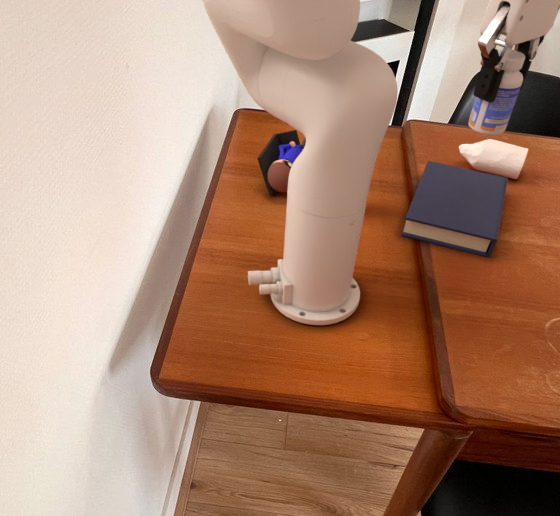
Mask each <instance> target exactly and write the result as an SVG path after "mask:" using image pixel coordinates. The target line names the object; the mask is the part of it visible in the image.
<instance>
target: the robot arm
mask: <svg viewBox="0 0 560 516" xmlns="http://www.w3.org/2000/svg"><path fill="white" fill-rule="evenodd" d="M202 4H203V6H204V10H205V11H206V14H207V17H208V19H209V20H210V22H211V25H212V27H213V29H214V30H215V33H216V35H217V37H218V40H219V41H220V42H221V45H222V47H223V49H224V50H225V53H226V55H227V56H228V58H229V61H230V62H231V64H232V66H233V68H234V70H235V71H236V74H237V76H238V78H239V80H240V82H241V83H242V85H243V87H244V88H245V90H246V91H247V93H248V95H249V96H250V97H251V99H252V100H253V101H254V102H255V104H257V106H259V108H261V109H262V110H264V111H265V112H266V113H269V114H270V115H272V116H273V117H275V118H276V119H278V120H279V121H282V122H284V123H285V124H287V125H289V126H290V127H292V128H293V129H294V130H297V132H300V133H301V134H302V135H303V136H304V139H305V138H306V144H305V147H304V149H302V152H301V153H300V155H299V156H298V157H297V158H296V160H295V161H294V163H293V165H292V167H291V170H290V173H289V178H288V189H287V192H286V193H287V195H286V210H285V223H284V224H285V225H284V226H285V227H284V242H283V255H282V256H283V257H282V258H280V259H277V266H274V267H270V270H268V269H267V270H260V269H257V270H248V271H247V281H248V285H249V286H258V291H259V295H260V296H261V295H269V296H270V300H271V302H272V304H273V306H274V307H275V309H277V311H278V312H279V313H281V314H282V315H284V316H285V317H286V318H287V319H290V320H292V321H294V322H298V323H301V324H305V325H310V326H327V325H328V326H329V325H333V324H337V323H339V322H342V321H345V320H346V319H348V318H349V317H351V316H352V315H353V314H354V313H355V312H356V310H357V309H358V306H359V304H360V300H361V290H360V286H359V284H358V282H357V281H356V279H355V278H354V277H353V275H354V271H355V270H354V269H355V265H356V259H357V255H358V250H359V244H360V240H361V239H360V238H361V234H362V229H363V223H364V219H365V213H366V209H367V203H368V197H369V191H370V187H371V181H372V177H373V173H374V169H375V166H376V161H377V158H378V155H379V152H380V149H381V146H382V144H383V141H384V138H385V136H386V133H387V131H388V129H389V126H390V124H391V121H392V118H393V116H394V112H395V109H396V106H397V100H398V83H397V79H396V76H395V73H394V71H393V69H392V68H391V67H390V65H389V64H388V62H387V61H386V60H385V59H384V58H383V57H382V56H381V55H379V54H378V53H376V52H375V51H373V50H372V49H370V48H368V47H366V46H365V45H362V44H360V43H357V42H355V41H352V39H353V37H354V35H355V32H356V31H357V28H358V25H359V19H360V13H361V0H202ZM485 9H486V10H485V12H484V15H483V19H482V21H481V25H480V31H479V34H480V38H479V39H478V42H477V46H478V49H479V51H480V56H481V60H480V65H481V67H480V70H479V73H478V76H477V80H476V84H475V87H474V90H473V96H474V97H475V98H476V97H478V98H480V99H482V100H485V101H487V102H489V103H491V102H494V101H495V98H496V95H497V92H498V89H499V86H500V83H501V81H502V78H503V75H504V72H505V71H504V70H501V69H502V68H503V66H504V64H505V62H506V60H507V58H508V56H509V54H510V52H511V50H515V51H519V52H521V53H523V54H524V55H525V60H524V63H523V66H522V68H521V69H520V70H519V72H521V74H522V75H523V82H522V85H521V88H520V91H519V93H520V92H521V91H522V90H523V87H524V84H525V82H526V79H527V76H528V73H529V70H530V68H531V65H532V62H533V60H534V59H535V58H536V56H537V54H538V49H539V47H540V45H541V44H542V43H543V42H544V40H545V37H546V35H547V34H548V33H549V32H550V31H551V30H552V29H553V26H554V25H555V21H556V19H557V16H558V13H559V11H560V0H488V4H487V6H486V8H485ZM501 35H503V36H505V38H504V40H503V39H500V37H501ZM497 46H499V47H502V49H503V50H502V52H501V54H500V56H499V54H498V50H499V49H498V48H497ZM513 47H514V49H513Z"/></svg>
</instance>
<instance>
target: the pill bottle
mask: <svg viewBox="0 0 560 516" xmlns="http://www.w3.org/2000/svg"><path fill="white" fill-rule="evenodd" d="M497 50H498V54H499V56H500V54H501V52H502V50H503V48H501V49H500V48H499V49H497ZM524 60H525V55H524V54H523V53H521V52H519V51H515V50H514V49H512V50H511V52H510V54H509V56H508V58H507V60H506V62H505V64H504V66H503V68H502V69H501V70H504V71H505V72H504V75H503V78H502V81H501V83H500V86H499V89H498V92H497V95H496V98H495V101H494V102H491V103H489V102H487V101H485V100H482V99H480V98H478V97H475V98H474V102H473V105H472V108H471V110H470V114H469V118H468V123H467V124H468V127H469V128H470V129H472V131H474V132H477V133H479V134H482V135H487V136H496V135H497V136H498V135H501V134H503V133H504V132H505V131H506V129H507V127H508V124H509V121H510V118H511V116H512V112H513V110H514V107H515V104H516V101H517V99H518V96H519V94H520V92H521V91H520V88H521V85H522V82H523V75H522V74H521V72H519V70H520V69H521V68H522V66H523V63H524ZM519 91H520V92H519Z"/></svg>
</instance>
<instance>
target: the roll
mask: <svg viewBox="0 0 560 516" xmlns="http://www.w3.org/2000/svg"><path fill="white" fill-rule="evenodd" d="M458 149H459V154H460V155H461V156H462V157H463V158H464V159H465V160H466V162H468V164H470V166H471V168H473V169H474V170H475V171H479V172H482V173H487V174H492V175H496V176H501V177H505V178H508V179H512V180H518V178H519V176H520V174H521V171H522V169H523V167H524V164H525V162H526V158H527V156H528V154H529V148H527V147H523V146H519V145H516V144H512V143H507V142H505V141H500V140H496V139H494V138H493V139H492V138H487V139H484V140H481V141H478V142H474V143H461V144H460V145H459V146H458Z"/></svg>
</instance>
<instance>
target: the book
mask: <svg viewBox="0 0 560 516" xmlns="http://www.w3.org/2000/svg"><path fill="white" fill-rule="evenodd" d="M508 180H509V178H508V177H504V176H499V175H496V174H492V173H487V172H483V171H479V170H473V169H470V168H469V169H468V168H465V167H464V168H463V167H459V166H455V165H450V164H447V163H446V164H445V163H441V162H436V161H431V160H427V162H426V165H425V167H424V170H423V173H422V174H421V178H420V180H419V182H418V185H417V188H416V190H415V193H414V195H413V198H412V201H411V203H410V205H409V208H408V211H407V212H406V215H405V218H404V220H405V223H404V226H403V228H402V231H401V234H400V237H405V238H408V239H412V240H416V241H420V242H425V243H429V244H433V245H435V246H440V247H444V248H448V249H453V250H456V251H459V252H464V253H468V254H471V255H476V256H481V257H484V258H491V256H492V253H493V251H494V248H495V246H496V243H497V241H498V237H499V232H500V226H501V220H502V215H503V214H502V213H503V209H504V203H505V198H506V193H507V192H506V191H507V186H508V182H509V181H508Z"/></svg>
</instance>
